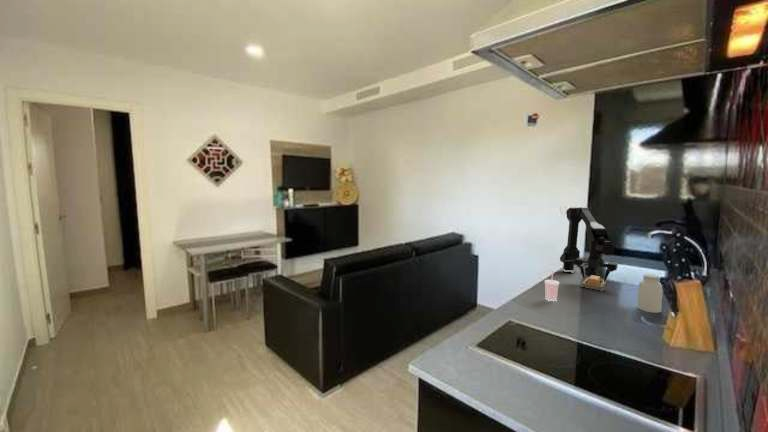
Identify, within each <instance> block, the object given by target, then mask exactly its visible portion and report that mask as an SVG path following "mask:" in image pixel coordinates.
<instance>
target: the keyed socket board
mask: <svg viewBox="0 0 768 432" xmlns="http://www.w3.org/2000/svg"><path fill="white" fill-rule="evenodd" d="M588 281H589V277H585V279H584V280H583V281H582V282H581V285H582V286H584V287H589V288H591V289H596V290H602V291H603V290H605V289H604V288H603V287H604V286H605V284H606V283H607V280H606V281H605V282H604V279H600V283H601V285H600V286H598V285H592V284H586V283H587V282H588ZM591 289H590V290H591ZM596 290H595V291H596ZM602 291H601V292H602ZM603 292H604V291H603Z"/></svg>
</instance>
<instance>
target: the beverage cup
mask: <svg viewBox="0 0 768 432" xmlns="http://www.w3.org/2000/svg"><path fill="white" fill-rule="evenodd" d="M553 278H554V270H551V279H545V280H544V284H545V286H544V290H545V291H544V292H545V295H544V296H545V299H546V300H548V301H547V302H549V301H553V302H552V303H555V302H554V301H556V302H557V300H558V291H559V285H560V281H559V280H555V279H553ZM545 299H544V300H545ZM546 300H545V301H546Z"/></svg>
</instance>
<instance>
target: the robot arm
mask: <svg viewBox="0 0 768 432" xmlns="http://www.w3.org/2000/svg"><path fill="white" fill-rule="evenodd" d="M566 219H567V220H568V222H569V224H568V231H567V232H568V234H567V245H566V246H565V248H564V249H563V252H562V253H561V255H560V257H559V261H560V262H561V263H563V265H562V267H563V268H562V270H563V269H565V270H574V271H575V266H576V267H577V268H579V269H580V271H581V274H582V279H584V280H585V279H586V265H587V267H588V268H595V269H598V268H599V267H601V268H606V270H605V274H604V278H603V280H604V282H605V281H606V282H607V279H608V276H609V275H610V273H611V272H615V271H617V270H618V263H617V262H611V261H609V262H607V263H605V259H604V258H603V255H605V256H610V255H613V254H614V252H615V247H614V245H613V244H612V243H611V242H612V241H611V240H610V236H609V233H608V230H607V229H606V227H604V226H603V224H600V223H598V222H597V221H596V219H595V217H594V216H593V214H592V213H591V212H590V210H589V207H587V206H586V207H583V206H582V207H581V206H580V207H569V208H568V209H566ZM581 221H583V223H584V224H585V226H586V227H587V230H586V232H587V235H588V237H589V239H588V241H589V256H588V258H587V260H585V258H581V257H580V253H581V251H580V250H579V249H578V247H577V246H578V235H579V234H578V233H579V226H580V225H579V224H580V223H581Z"/></svg>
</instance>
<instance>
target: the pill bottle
mask: <svg viewBox="0 0 768 432" xmlns="http://www.w3.org/2000/svg"><path fill="white" fill-rule="evenodd" d="M642 279H643V280H640V281H639V283H638V296H637V308H638V310H640V311H643V312H646V313H652V314H653V313H654V314H658V313H661V312H662V304H663V292H664V291H663V290H664V288H663V289H662V286H663V284H662V283H661V282H660V276H659V275H655V274H648V273H645V274H643V278H642ZM661 284H662V285H661Z"/></svg>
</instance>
